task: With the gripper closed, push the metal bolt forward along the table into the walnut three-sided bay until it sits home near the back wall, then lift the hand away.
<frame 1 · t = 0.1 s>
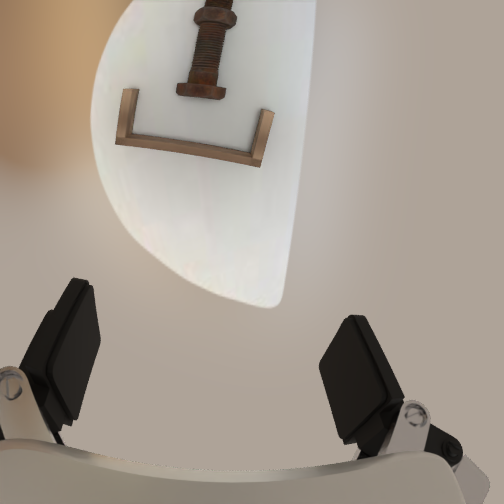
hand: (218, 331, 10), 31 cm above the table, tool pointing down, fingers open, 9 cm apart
bay: (193, 122, 35), on the table
bolt: (212, 43, 30), on the table
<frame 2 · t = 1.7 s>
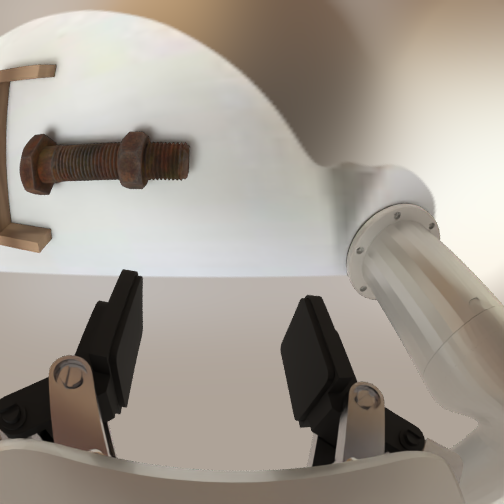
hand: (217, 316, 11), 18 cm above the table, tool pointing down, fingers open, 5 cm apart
bay: (22, 155, 22), on the table
bolt: (112, 156, 24), on the table
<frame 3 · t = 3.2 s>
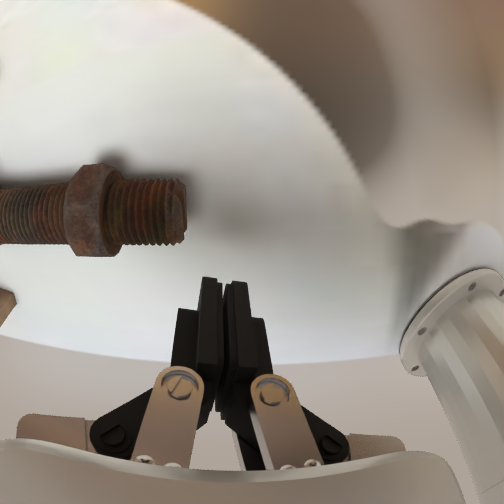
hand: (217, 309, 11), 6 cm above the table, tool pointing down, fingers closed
bolt: (71, 199, 15), on the table
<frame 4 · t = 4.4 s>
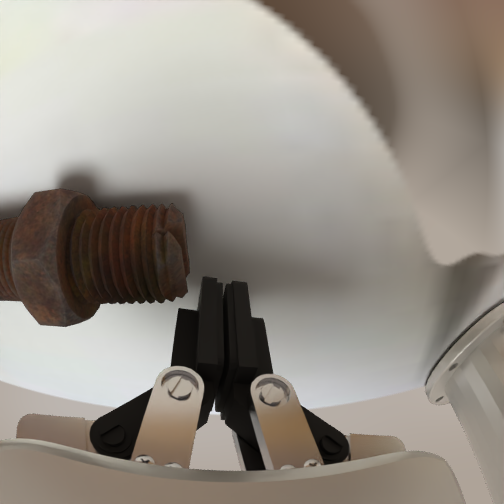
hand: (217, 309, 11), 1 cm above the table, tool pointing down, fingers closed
bolt: (35, 232, 11), on the table, touching gripper
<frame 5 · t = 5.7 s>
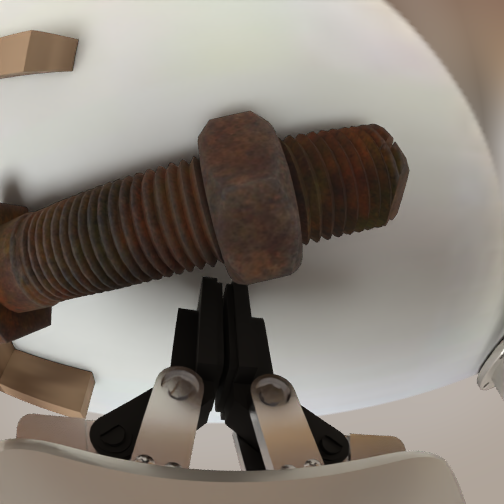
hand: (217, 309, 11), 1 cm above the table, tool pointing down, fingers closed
bay: (11, 252, 10), on the table
bolt: (164, 198, 11), on the table
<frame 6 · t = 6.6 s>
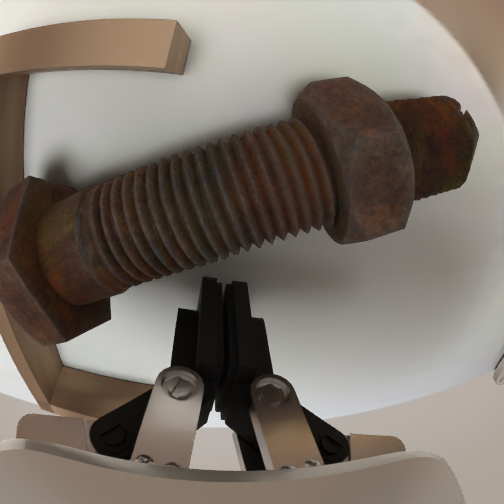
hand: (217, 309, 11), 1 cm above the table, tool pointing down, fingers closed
bay: (79, 267, 11), on the table
bolt: (241, 171, 10), on the table
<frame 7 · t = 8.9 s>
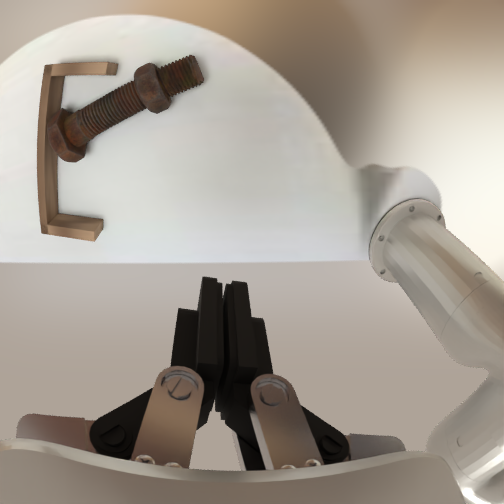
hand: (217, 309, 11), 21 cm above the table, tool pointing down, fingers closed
bay: (77, 148, 26), on the table
bolt: (131, 102, 25), on the table
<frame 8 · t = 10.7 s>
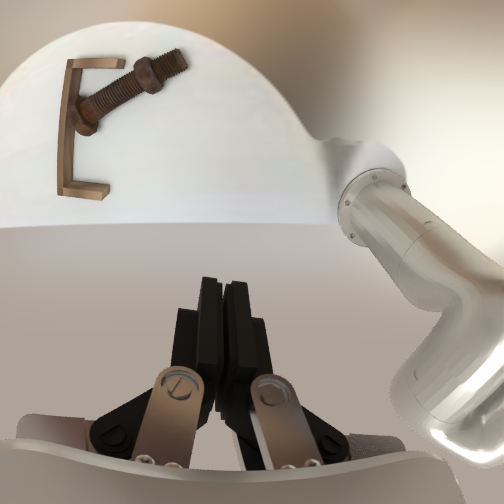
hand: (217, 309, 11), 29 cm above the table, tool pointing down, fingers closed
bay: (91, 126, 32), on the table
bolt: (132, 88, 31), on the table
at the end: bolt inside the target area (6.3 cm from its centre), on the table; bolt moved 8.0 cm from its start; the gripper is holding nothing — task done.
